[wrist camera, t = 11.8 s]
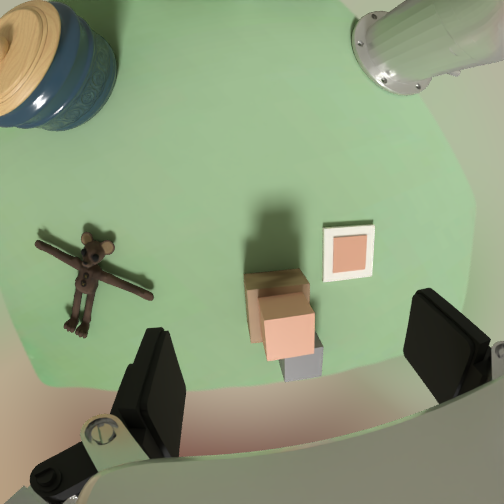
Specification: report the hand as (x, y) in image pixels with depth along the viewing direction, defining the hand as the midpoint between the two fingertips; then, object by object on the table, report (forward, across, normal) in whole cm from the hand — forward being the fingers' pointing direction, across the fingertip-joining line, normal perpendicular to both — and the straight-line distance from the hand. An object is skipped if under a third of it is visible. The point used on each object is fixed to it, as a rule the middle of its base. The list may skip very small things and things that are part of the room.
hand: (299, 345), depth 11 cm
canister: (+26, +20, -19) cm, 38 cm away
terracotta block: (+21, -2, +12) cm, 24 cm away
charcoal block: (+26, -4, +20) cm, 33 cm away
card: (+26, -12, +7) cm, 30 cm away
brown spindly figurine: (+26, +22, +7) cm, 35 cm away
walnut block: (+26, -2, +12) cm, 29 cm away
